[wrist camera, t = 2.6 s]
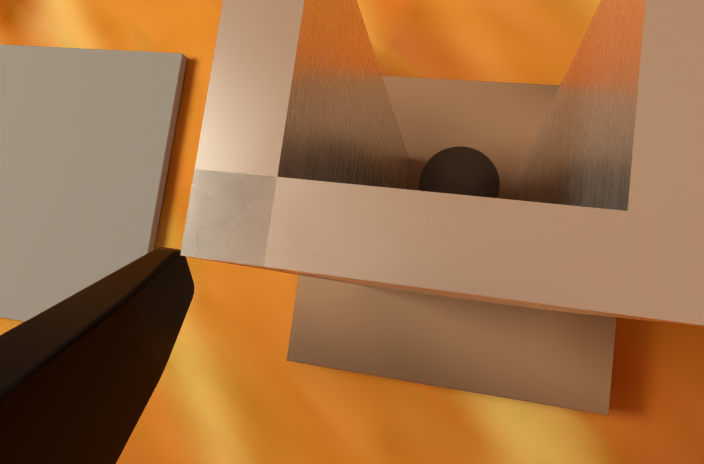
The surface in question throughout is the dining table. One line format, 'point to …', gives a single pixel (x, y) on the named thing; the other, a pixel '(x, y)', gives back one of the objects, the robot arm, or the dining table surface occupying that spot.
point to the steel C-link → (453, 209)
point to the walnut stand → (452, 313)
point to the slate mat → (80, 166)
